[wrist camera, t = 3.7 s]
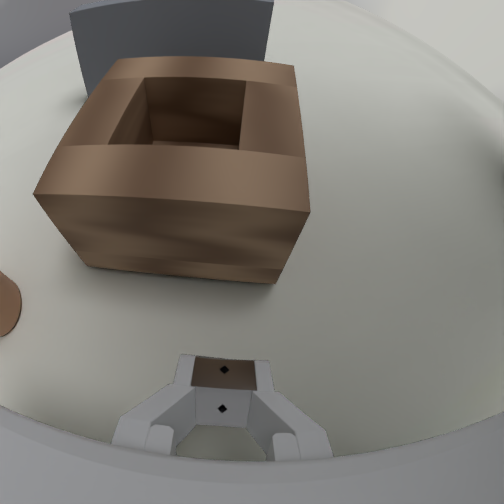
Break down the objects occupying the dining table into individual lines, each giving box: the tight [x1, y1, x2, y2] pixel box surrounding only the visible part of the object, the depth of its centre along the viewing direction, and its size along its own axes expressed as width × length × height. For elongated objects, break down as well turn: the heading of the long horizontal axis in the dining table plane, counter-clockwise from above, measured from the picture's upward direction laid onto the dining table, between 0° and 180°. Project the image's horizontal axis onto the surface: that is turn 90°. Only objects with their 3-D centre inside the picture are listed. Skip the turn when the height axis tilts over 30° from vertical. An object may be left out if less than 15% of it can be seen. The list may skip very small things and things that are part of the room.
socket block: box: [33, 56, 310, 284], centre depth 16 cm, size 11×11×7 cm
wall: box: [69, 0, 274, 98], centre depth 20 cm, size 16×2×10 cm, turn 88°
